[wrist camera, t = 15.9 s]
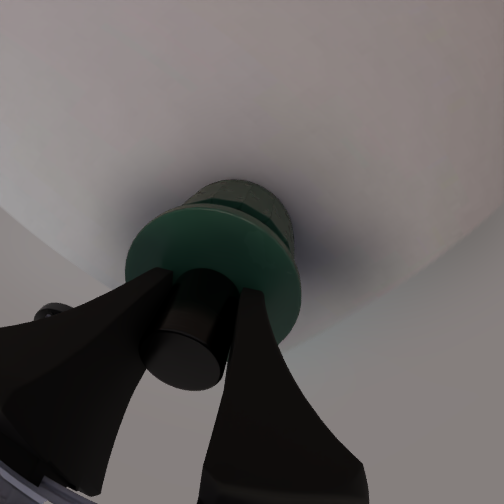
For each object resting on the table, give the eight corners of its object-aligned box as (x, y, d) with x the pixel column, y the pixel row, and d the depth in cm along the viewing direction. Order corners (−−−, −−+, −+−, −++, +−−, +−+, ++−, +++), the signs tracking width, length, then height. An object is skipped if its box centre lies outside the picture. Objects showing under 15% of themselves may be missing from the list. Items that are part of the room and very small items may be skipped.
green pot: (255, 301, 17) (247, 343, 14) (165, 250, 16) (138, 283, 13) (315, 219, 14) (322, 250, 11) (211, 157, 14) (188, 170, 10)
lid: (246, 364, 13) (230, 445, 9) (120, 295, 12) (68, 361, 8) (336, 259, 10) (357, 344, 6) (174, 163, 9) (102, 200, 6)
